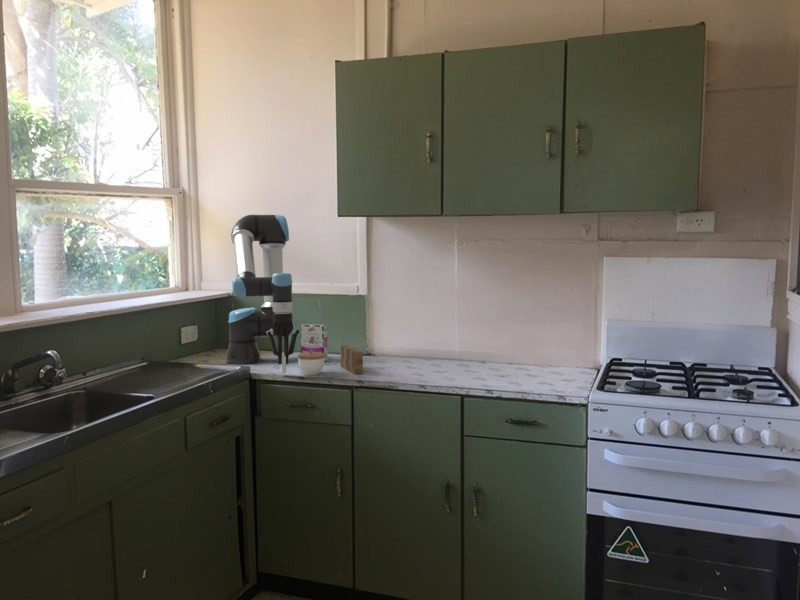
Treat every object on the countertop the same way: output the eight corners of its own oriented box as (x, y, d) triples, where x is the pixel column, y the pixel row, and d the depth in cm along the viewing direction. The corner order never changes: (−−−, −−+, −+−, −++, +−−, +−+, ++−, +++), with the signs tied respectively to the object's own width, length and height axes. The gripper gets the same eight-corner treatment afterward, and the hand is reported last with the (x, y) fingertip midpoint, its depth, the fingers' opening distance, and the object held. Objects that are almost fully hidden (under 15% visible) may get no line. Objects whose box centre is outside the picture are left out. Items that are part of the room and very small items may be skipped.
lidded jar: (304, 370, 266) (304, 347, 266) (329, 371, 263) (328, 349, 263) (293, 375, 256) (293, 352, 255) (318, 377, 253) (318, 353, 252)
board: (341, 366, 274) (340, 345, 273) (347, 366, 275) (347, 345, 275) (355, 374, 258) (355, 352, 257) (362, 374, 259) (362, 351, 258)
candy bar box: (328, 360, 288) (328, 324, 287) (323, 362, 284) (323, 325, 282) (305, 359, 292) (305, 323, 290) (300, 361, 287) (300, 324, 285)
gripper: (267, 314, 247) (268, 375, 249) (301, 312, 252) (302, 372, 254) (263, 312, 254) (264, 371, 256) (296, 311, 259) (297, 369, 261)
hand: (283, 372), depth 255 cm, fingers closed
